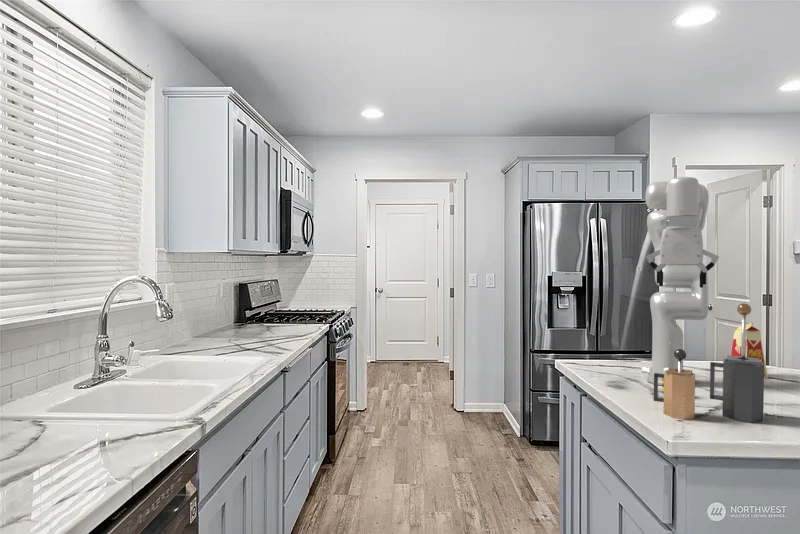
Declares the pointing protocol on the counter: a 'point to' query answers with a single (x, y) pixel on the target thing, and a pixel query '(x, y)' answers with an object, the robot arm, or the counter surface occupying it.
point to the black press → (740, 388)
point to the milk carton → (749, 344)
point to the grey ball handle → (679, 357)
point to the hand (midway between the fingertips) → (680, 286)
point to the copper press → (677, 393)
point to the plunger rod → (743, 325)
